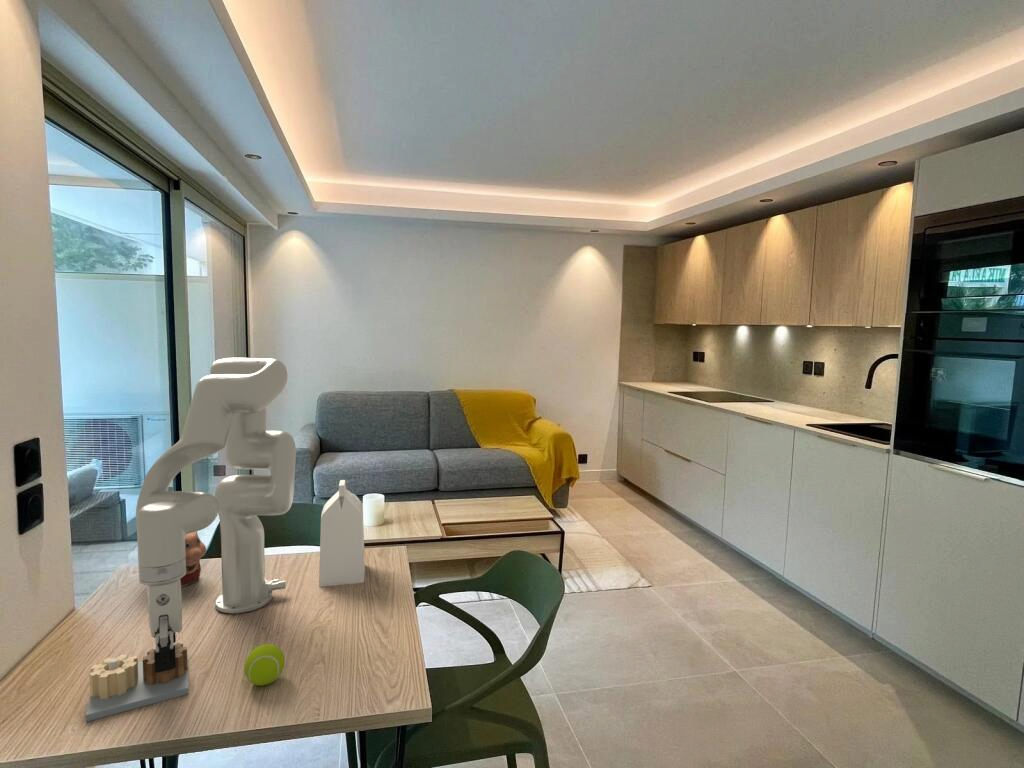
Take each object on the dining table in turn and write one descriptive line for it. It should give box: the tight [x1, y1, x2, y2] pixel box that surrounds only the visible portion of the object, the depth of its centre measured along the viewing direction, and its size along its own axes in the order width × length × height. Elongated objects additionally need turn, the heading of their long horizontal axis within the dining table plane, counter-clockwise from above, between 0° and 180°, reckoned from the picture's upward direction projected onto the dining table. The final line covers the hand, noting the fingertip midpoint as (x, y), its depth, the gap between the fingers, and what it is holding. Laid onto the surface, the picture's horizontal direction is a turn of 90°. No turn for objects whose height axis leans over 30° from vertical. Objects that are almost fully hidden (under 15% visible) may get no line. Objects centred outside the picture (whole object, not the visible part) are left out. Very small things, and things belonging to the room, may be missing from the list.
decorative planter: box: [180, 531, 207, 588], centre depth 148 cm, size 20×12×14 cm, turn 73°
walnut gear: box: [142, 642, 189, 685], centre depth 106 cm, size 7×7×4 cm
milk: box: [318, 479, 366, 587], centre depth 152 cm, size 12×12×26 cm
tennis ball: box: [244, 643, 286, 686], centre depth 105 cm, size 7×7×7 cm
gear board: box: [85, 653, 190, 723], centre depth 104 cm, size 15×14×6 cm
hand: (165, 656), depth 106 cm, fingers open, 9 cm apart
